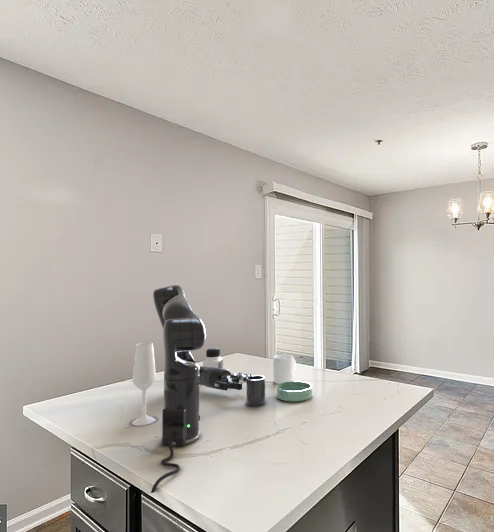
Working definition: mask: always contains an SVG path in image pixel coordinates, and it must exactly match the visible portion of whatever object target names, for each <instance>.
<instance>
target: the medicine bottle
mask: <svg viewBox="0 0 494 532" xmlns="http://www.w3.org/2000/svg"><path fill="white" fill-rule="evenodd" d="M205 352H206V353H205V354H206V355H205V356H206V357H205V358H206V359H204V360H203V362H202V366H205V367H216V368H222V369H224V358H223V357H221V349H220V348H218V347H211V348H207V349H206V350H205Z"/></svg>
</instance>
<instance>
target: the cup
mask: <svg viewBox="0 0 494 532" xmlns="http://www.w3.org/2000/svg"><path fill="white" fill-rule="evenodd" d="M245 387H246V390H245V391H246V392H245V393H246V394H245V395H246V400H245V401H246V406H248V407H261V406H263V405H265V403H266V377H265V376H264V375H257V374H256V375H252V376H249V377H247V383H246V385H245Z"/></svg>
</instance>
